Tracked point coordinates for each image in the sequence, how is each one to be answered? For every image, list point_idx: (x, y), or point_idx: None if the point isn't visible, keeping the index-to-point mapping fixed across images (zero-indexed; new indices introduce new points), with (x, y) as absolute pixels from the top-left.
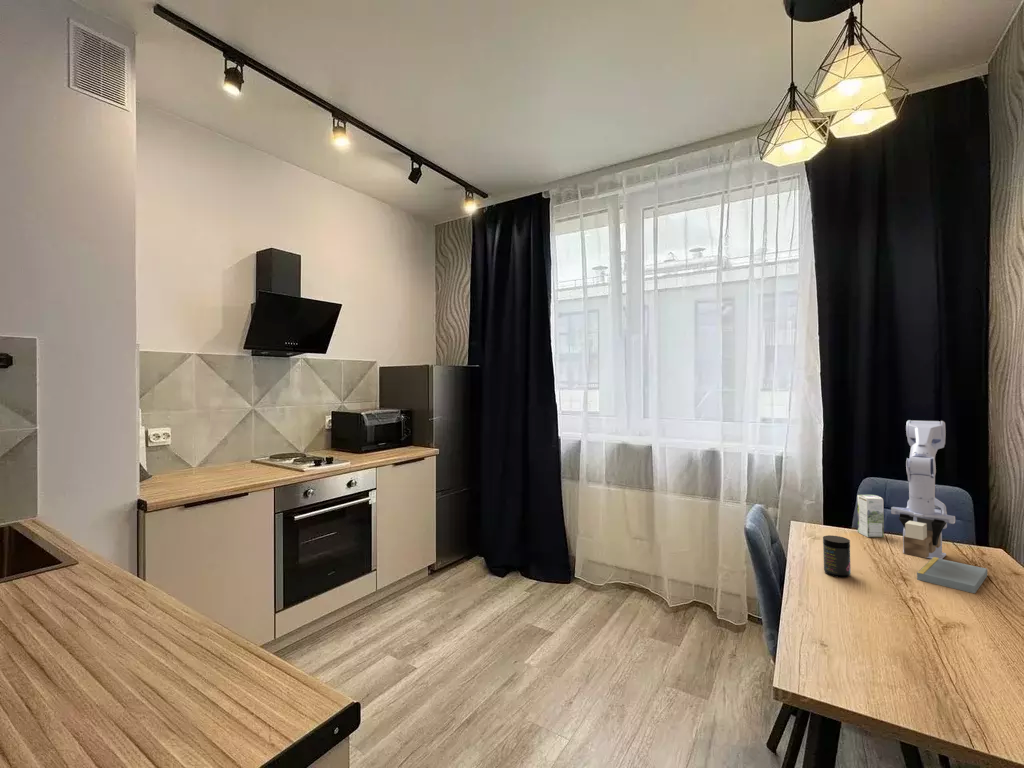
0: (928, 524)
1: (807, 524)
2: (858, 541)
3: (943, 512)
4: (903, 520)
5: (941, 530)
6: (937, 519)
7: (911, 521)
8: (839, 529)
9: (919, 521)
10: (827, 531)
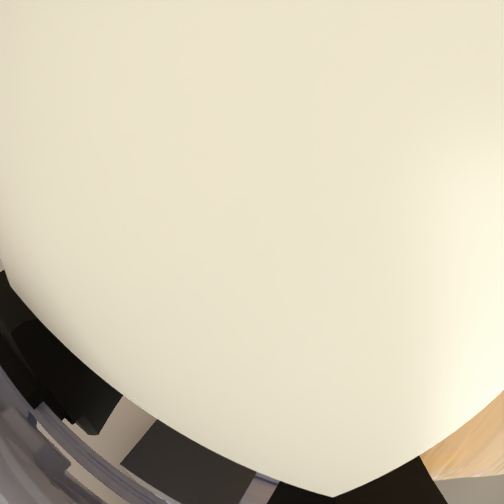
0: (184, 441)
1: (501, 472)
2: (453, 432)
3: (157, 495)
4: (406, 499)
5: None
6: (18, 392)
7: (275, 444)
8: (450, 474)
9: (233, 479)
10: (488, 458)
